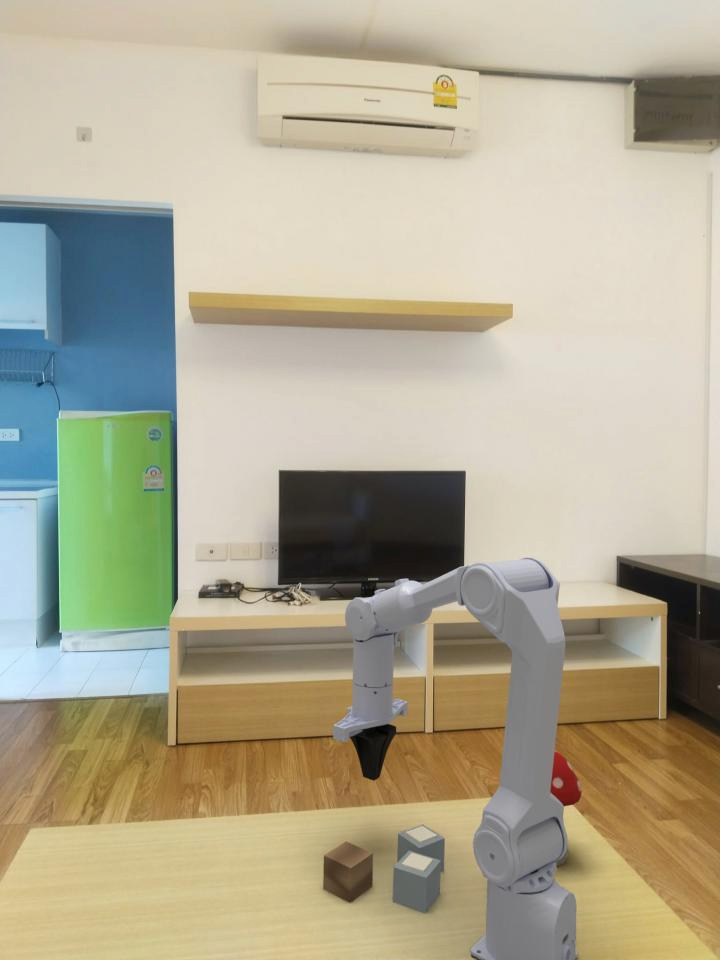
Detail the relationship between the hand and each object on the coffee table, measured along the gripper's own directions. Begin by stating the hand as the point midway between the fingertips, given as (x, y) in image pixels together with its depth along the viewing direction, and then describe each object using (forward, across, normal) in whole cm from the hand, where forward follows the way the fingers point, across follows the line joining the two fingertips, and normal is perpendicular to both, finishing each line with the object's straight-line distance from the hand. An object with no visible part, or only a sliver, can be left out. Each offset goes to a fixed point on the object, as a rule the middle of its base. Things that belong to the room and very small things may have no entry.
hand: (371, 777), depth 102 cm
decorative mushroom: (+10, -15, +20) cm, 27 cm away
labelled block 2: (+10, +5, +12) cm, 16 cm away
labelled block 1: (+10, -1, +8) cm, 13 cm away
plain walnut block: (+10, +9, +4) cm, 14 cm away
